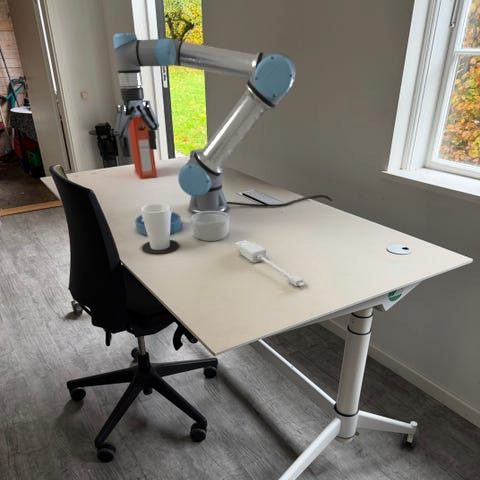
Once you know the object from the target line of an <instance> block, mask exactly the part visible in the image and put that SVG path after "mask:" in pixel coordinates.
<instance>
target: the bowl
mask: <svg viewBox="0 0 480 480" xmlns="http://www.w3.org/2000/svg"><path fill="white" fill-rule="evenodd" d="M134 223H135V229H136V231H137V233H138V234H141V235H143V236H148V235H147V231H146V227H145V224H144V220H143V218H142V214H140V215H138V216H137V217H136V218H135V220H134ZM181 229H182V217H181V215H180V214H179V213H176V212H175V211H171V221H170V235H171V234H174V233H176V232H178V231H180V230H181Z"/></svg>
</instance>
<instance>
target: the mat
mask: <svg viewBox="0 0 480 480" xmlns="http://www.w3.org/2000/svg"><path fill="white" fill-rule="evenodd" d="M141 248H142V251H143V252H144V253H146V254H149V255H165V254H170V253H173V252H175V251H176V250H178V248H179V243H178V242H177V241H175V240H172V239H170V246H169V247H168V248H166V249H162V250H155V249H152V248H151V246H150V243H149V241H147V242H145V243H144V244H143V245H142V247H141Z"/></svg>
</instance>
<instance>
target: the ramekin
mask: <svg viewBox="0 0 480 480" xmlns="http://www.w3.org/2000/svg"><path fill="white" fill-rule="evenodd" d="M190 222H191V224H192V230H193V234H194V236H195V237H196V238H197V239H199V240H200V241H204V242H215V241H216V242H217V241H220V240H223V239H224V238H226V237H227V235H228V233H229V224H230V214H228V213H227V212H225V211H224V212H220V211H203V212H199V213H196V214H195V213H193V214H192V216H191V217H190Z"/></svg>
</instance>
